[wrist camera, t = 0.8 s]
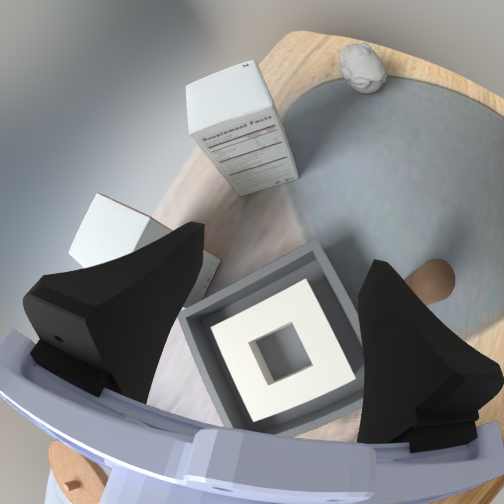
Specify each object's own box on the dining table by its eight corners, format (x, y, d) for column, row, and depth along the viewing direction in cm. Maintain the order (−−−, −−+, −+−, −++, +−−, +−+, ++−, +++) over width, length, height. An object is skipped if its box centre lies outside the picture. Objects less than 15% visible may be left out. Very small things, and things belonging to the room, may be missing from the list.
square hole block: (386, 382, 23) (394, 390, 19) (250, 439, 25) (237, 453, 21) (319, 250, 28) (316, 238, 24) (195, 316, 30) (176, 313, 27)
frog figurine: (367, 69, 32) (365, 33, 26) (395, 97, 30) (399, 59, 23) (332, 80, 33) (327, 42, 27) (359, 109, 31) (357, 69, 24)
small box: (223, 259, 31) (152, 216, 19) (197, 311, 30) (114, 296, 18) (170, 234, 34) (96, 190, 22) (148, 280, 33) (66, 254, 21)
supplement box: (230, 151, 35) (183, 83, 23) (285, 133, 33) (256, 56, 21) (238, 199, 32) (185, 135, 21) (300, 180, 31) (274, 103, 19)
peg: (434, 297, 23) (461, 286, 17) (409, 313, 24) (431, 309, 17) (419, 269, 24) (442, 251, 18) (394, 285, 25) (411, 271, 18)
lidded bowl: (153, 444, 28) (92, 470, 17) (160, 512, 24) (111, 544, 14) (88, 416, 31) (30, 426, 21) (97, 480, 28) (48, 497, 18)
